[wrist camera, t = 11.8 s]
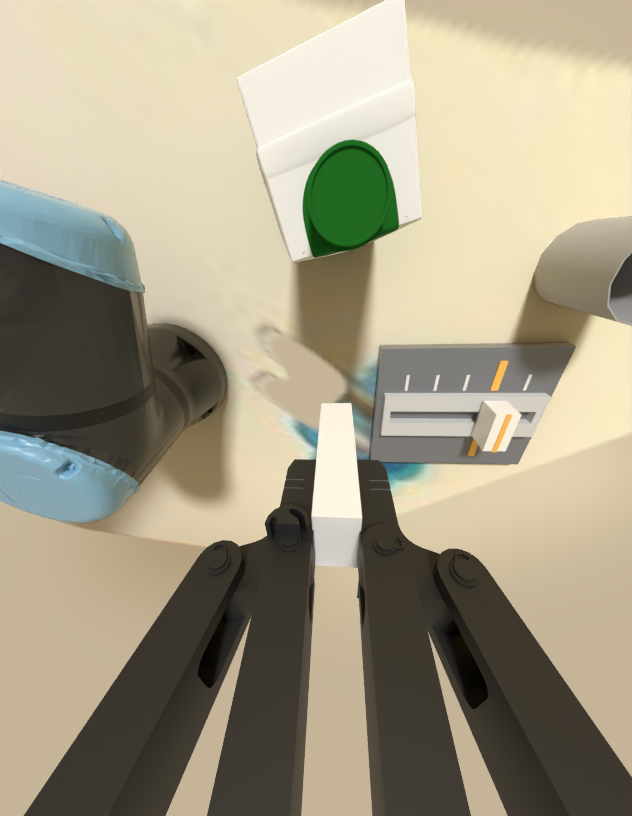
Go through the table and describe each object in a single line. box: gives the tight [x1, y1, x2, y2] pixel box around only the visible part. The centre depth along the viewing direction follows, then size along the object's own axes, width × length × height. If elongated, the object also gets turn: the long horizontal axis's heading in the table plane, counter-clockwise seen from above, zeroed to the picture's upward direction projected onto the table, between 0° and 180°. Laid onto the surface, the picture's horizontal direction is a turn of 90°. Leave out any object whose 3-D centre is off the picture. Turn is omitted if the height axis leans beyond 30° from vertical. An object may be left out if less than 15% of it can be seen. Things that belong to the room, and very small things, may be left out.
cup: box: [534, 216, 632, 326], centre depth 26 cm, size 8×8×10 cm
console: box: [370, 343, 576, 464], centre depth 40 cm, size 24×20×3 cm
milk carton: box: [237, 0, 422, 263], centre depth 20 cm, size 9×9×20 cm
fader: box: [472, 401, 521, 452], centre depth 37 cm, size 3×6×5 cm, turn 2°
